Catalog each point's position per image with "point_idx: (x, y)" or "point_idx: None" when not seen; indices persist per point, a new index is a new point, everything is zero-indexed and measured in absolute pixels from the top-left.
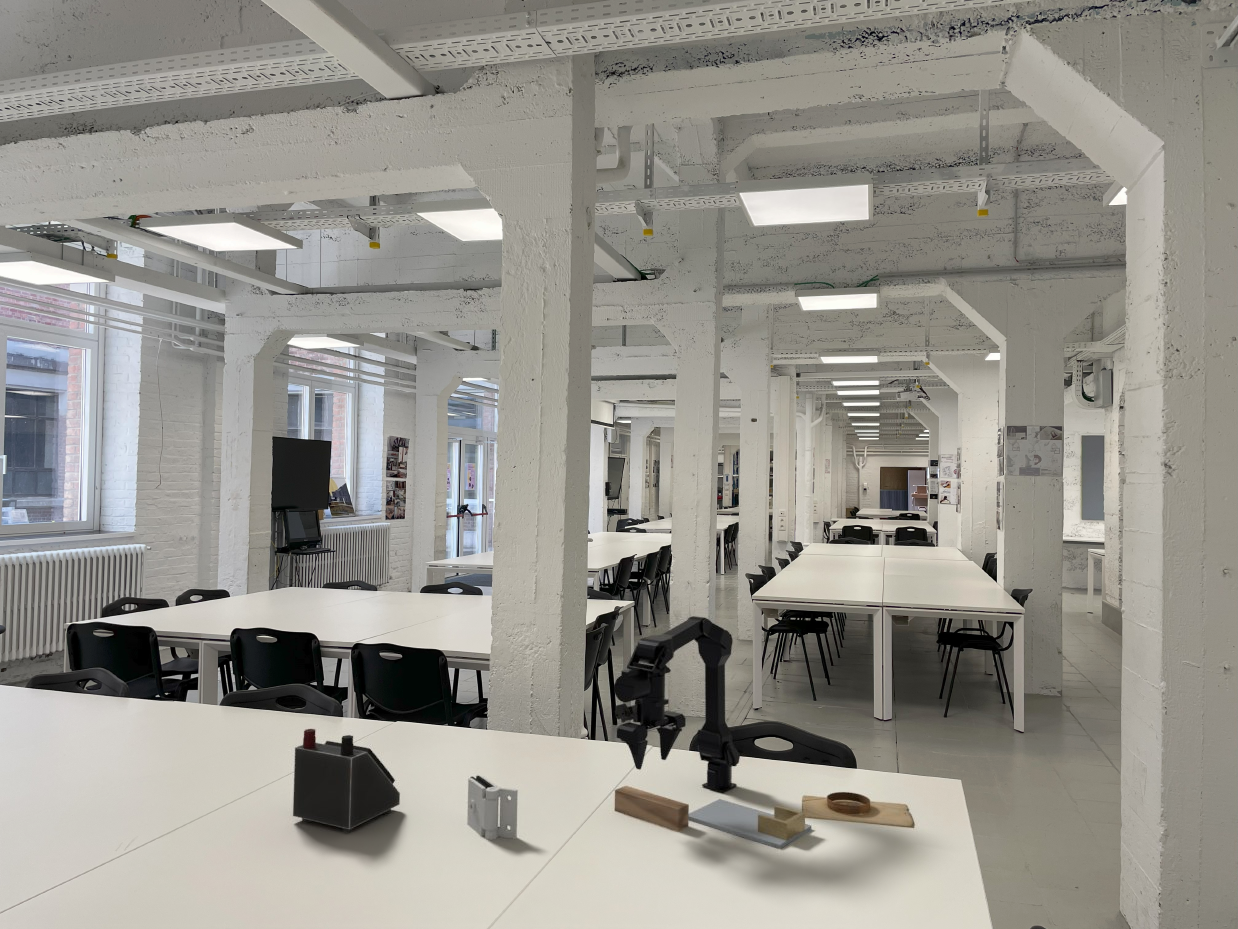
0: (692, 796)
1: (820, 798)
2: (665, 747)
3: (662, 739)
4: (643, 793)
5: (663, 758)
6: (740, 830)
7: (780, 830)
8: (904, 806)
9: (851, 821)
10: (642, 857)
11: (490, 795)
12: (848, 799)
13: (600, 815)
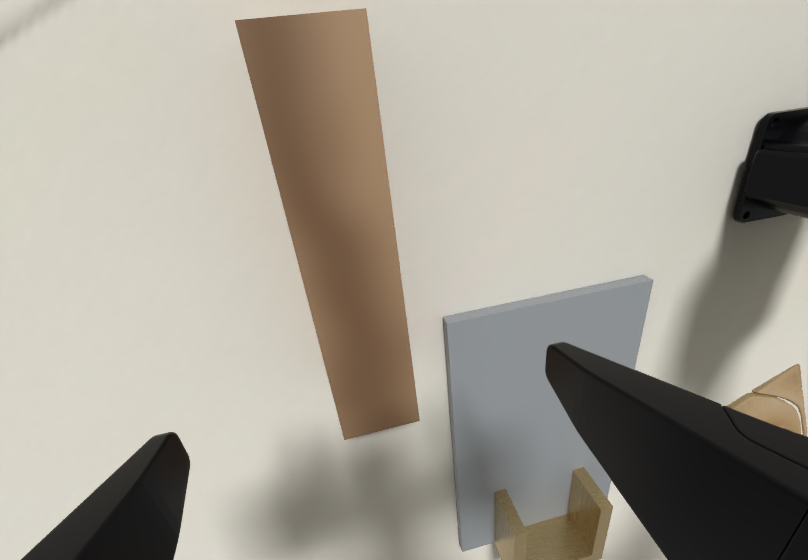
0: (649, 166)
1: (789, 398)
2: (634, 466)
3: (739, 507)
4: (357, 210)
5: (553, 370)
6: (470, 473)
7: (502, 553)
8: None
9: None
10: (92, 467)
11: None
12: None
13: (141, 37)
